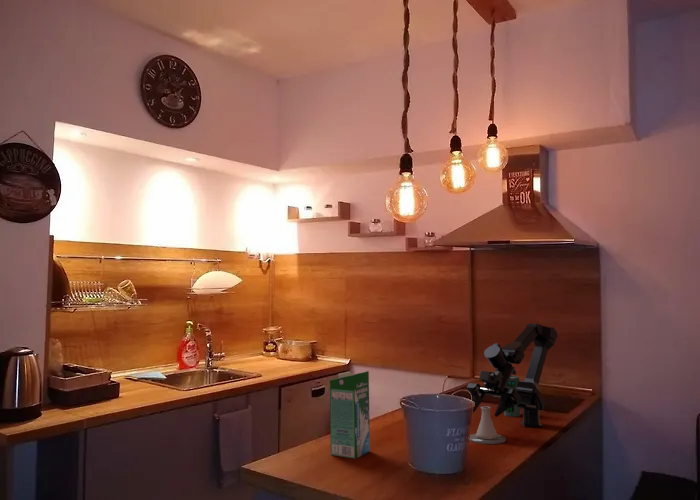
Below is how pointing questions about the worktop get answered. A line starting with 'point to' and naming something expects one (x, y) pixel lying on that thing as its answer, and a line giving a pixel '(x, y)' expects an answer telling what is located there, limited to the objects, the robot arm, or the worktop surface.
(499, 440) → the slate coaster
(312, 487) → the worktop surface
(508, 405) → the robot arm
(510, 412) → the can
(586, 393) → the worktop surface
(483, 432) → the flask
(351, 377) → the milk carton
